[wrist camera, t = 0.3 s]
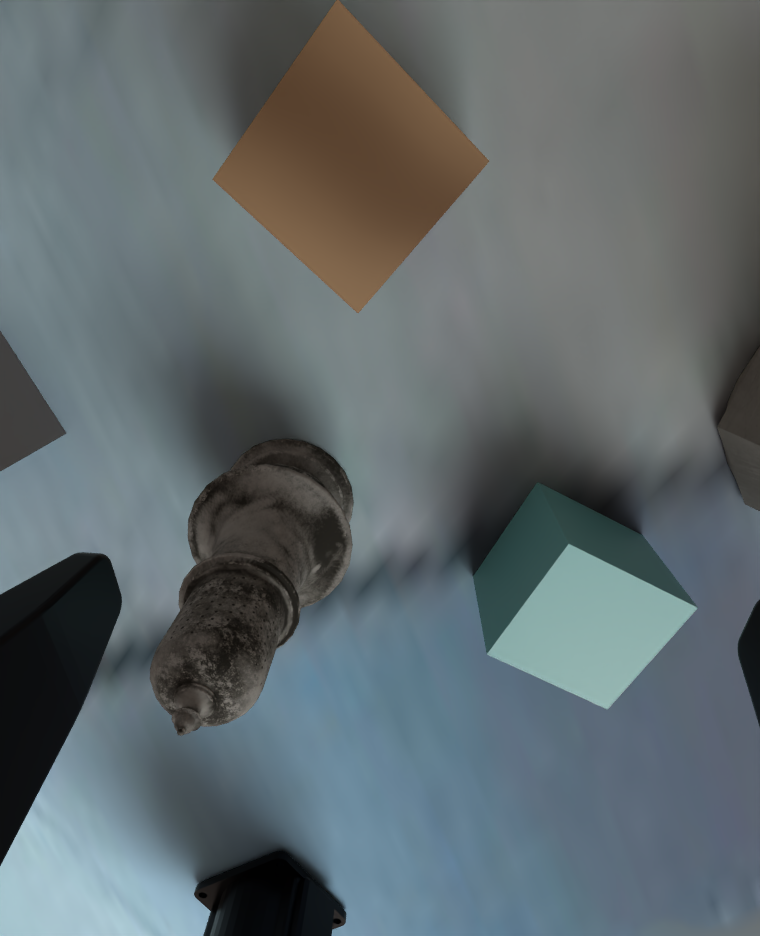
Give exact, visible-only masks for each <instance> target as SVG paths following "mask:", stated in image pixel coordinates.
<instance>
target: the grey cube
mask: <svg viewBox="0 0 760 936" xmlns="http://www.w3.org/2000/svg"><path fill="white" fill-rule="evenodd" d="M65 434H66V432H65V430H64V429H63V427H62V426H61V424H60V423H59V421H58V419H57V418H56V416H55V415H54V413H53V412H52V410H51V409H50V407H49V406H48V404H47V402H46V401H45V399H44V398H43V396H42V395H41V393H40V392H39V390H38V389H37V387H36V385H35V384H34V382H33V381H32V379H31V378H30V376H29V375H28V373H27V372H26V370H25V368H24V367H23V365H22V364H21V362H20V361H19V359H18V358H17V356H16V354H15V353H14V351H13V350H12V348H11V347H10V345H9V344H8V342H7V341H6V339H5V337H4V336H3V334H2V333H1V331H0V471H2V470H4V469H5V468H7V467H9V466H11V465H12V464H14V463H16V462H18V461H19V460H21V459H23V458H24V457H26V456H28V455H30V454H31V453H33V452H35V451H37V450H38V449H40V448H42V447H44V446H45V445H47V444H49V443H51V442H52V441H54V440H56V439H58V438H59V437H61V436H63V435H65Z"/></svg>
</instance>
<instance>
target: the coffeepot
mask: <svg viewBox="0 0 760 936" xmlns="http://www.w3.org/2000/svg"><path fill="white" fill-rule="evenodd" d="M717 428H718V431H719V434H720V436H721V439H722V442H723V446H724V450H725V455H726V459H727V463H728V465H729V467H730V469H731V471H732V473H733V475H734V477H735V479H736V481H737V484H738V486H739V489H740V492H741V495H742V497H743V500H744V503H745V504H746V505H748V506H750V507H752V508H754V509H756V510H758V511H760V347H759V348H758V350H757V351H756V352H755V354H754V355H753V357H752V358H751V360H750V362H749V363H748V365H747V366H746V368H745V369H744V371H743V372H742V374H741V375H740V377H739V378H738V380H737V382H736V384H735V387H734V389H733V391H732V394H731V396H730V398H729V401H728V404H727V409H726V412H725V413H724V415H723V417H722V419H721V421H720V423H719V424H718V426H717Z"/></svg>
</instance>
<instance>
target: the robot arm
mask: <svg viewBox="0 0 760 936" xmlns="http://www.w3.org/2000/svg"><path fill="white" fill-rule="evenodd" d="M121 605H122V597H121V592H120V589H119V586H118V583H117V579H116V576H115V573H114V570H113V567H112V563H111V561H110V559H109V558H108V557H107V556H106V555H104V554H99V553H84V552H82V553H76V554H73V555H71V556H70V557H68V558H66V559H64V560H62V561H60V562H59V563H57V564H55V565H53V566H51V567H50V568H48V569H46V570H44V571H42V572H41V573H39V574H37V575H35V576H33V577H31V578H30V579H28V580H26V581H24V582H22V583H21V584H19V585H17V586H15V587H13V588H12V589H10V590H8V591H6V592H4V593H2V594H1V595H0V866H1V864H2V862H3V860H4V858H5V856H6V854H7V852H8V850H9V848H10V846H11V844H12V842H13V841H14V839H15V837H16V835H17V833H18V831H19V829H20V827H21V825H22V823H23V821H24V819H25V817H26V815H27V814H28V812H29V810H30V808H31V806H32V804H33V802H34V800H35V798H36V796H37V794H38V792H39V790H40V788H41V786H42V785H43V783H44V781H45V779H46V777H47V775H48V773H49V771H50V769H51V767H52V765H53V763H54V761H55V759H56V758H57V756H58V754H59V752H60V750H61V748H62V746H63V744H64V742H65V740H66V738H67V736H68V734H69V732H70V730H71V729H72V727H73V725H74V723H75V721H76V719H77V716H78V714H79V712H80V710H81V708H82V706H83V704H84V701H85V699H86V697H87V694H88V692H89V689H90V687H91V684H92V682H93V679H94V677H95V674H96V672H97V669H98V667H99V664H100V662H101V659H102V656H103V654H104V651H105V649H106V646H107V644H108V641H109V639H110V636H111V634H112V631H113V629H114V626H115V624H116V621H117V618H118V616H119V613H120V610H121ZM738 656H739V660H740V664H741V667H742V670H743V673H744V677H745V680H746V683H747V687H748V690H749V693H750V696H751V700H752V703H753V706H754V710H755V713H756V716H757V720H758V723H759V726H760V600H759V601H758V602H757V603H756V604H755V606H754V608H753V610H752V612H751V615H750V617H749V619H748V621H747V623H746V625H745V627H744V629H743V632H742V634H741V636H740V638H739V642H738ZM194 896H195V897H196V898H197V899H198V900H199V901H200V902H201V903H202V904H203V905H205V906H206V907H207V908H208V909H209V910H210V911H211V912H210V916H209V919H208V922H207V926H206V929H205V932H204V936H331V935H332V929H335V928H338V927H341V926H343V925H344V924H345V923H346V912H345V911H344V910H343V909H342V908H341V907H340V906H339V905H338V904H337V902H336V901H335V900H334V899H333V898H332V897H331V896H330V895H329V894H328V893H327V892H326V891H325V890H324V889H323V888H322V887H321V886H320V885H319V884H318V883H317V882H316V881H315V880H314V879H313V878H312V877H311V876H310V875H309V874H308V873H307V872H306V871H305V870H304V869H303V868H302V867H301V866H300V865H299V864H298V863H297V862H296V861H295V860H294V859H293V858H292V857H291V856H290V855H289V854H287V853H286V852H283V851H277V852H274V853H272V854H269V855H267V856H264V857H262V858H259V859H257V860H255V861H252V862H250V863H247V864H245V865H242V866H240V867H237V868H235V869H233V870H230V871H228V872H225V873H223V874H220V875H218V876H215V877H213V878H210V879H208V880H206V881H203V882H201V883H199V884H197V887H196V890H195V893H194Z"/></svg>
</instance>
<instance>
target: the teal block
mask: <svg viewBox="0 0 760 936" xmlns="http://www.w3.org/2000/svg"><path fill="white" fill-rule="evenodd" d="M473 579H474V585H475V590H476V596H477V601H478V607H479V613H480V618H481V624H482V630H483V635H484V641H485V646H486V652H487V655H490V656H492V657H494V658H496V659H498V660H500V661H503V662H505V663H507V664H509V665H511V666H514V667H516V668H518V669H520V670H522V671H525V672H527V673H529V674H531V675H533V676H535V677H538V678H540V679H542V680H544V681H546V682H549V683H551V684H553V685H555V686H557V687H560V688H562V689H564V690H566V691H568V692H570V693H573V694H575V695H577V696H579V697H581V698H584V699H586V700H588V701H590V702H592V703H594V704H597V705H599V706H601V707H603V708H605V709H608V708H609V707H610V706H611V705H612V704H613V703H614V702H615V700H616V699H617V698H618V697H619V696H620V695H621V694H622V693H623V691H624V690H625V689H626V688H627V687H628V686H629V685H630V684H631V682H632V681H633V680H634V679H635V678H636V677H637V676H638V675H639V673H640V672H641V671H642V670H643V669H644V668H645V667H646V666H647V664H648V663H649V662H650V661H651V660H652V659H653V658H654V657H655V655H656V654H657V653H658V652H659V651H660V650H661V649H662V648H663V647H664V645H665V644H666V643H667V642H668V641H669V640H670V639H671V638H672V636H673V635H674V634H675V633H676V632H677V631H678V630H679V629H680V627H681V626H682V625H683V624H684V623H685V622H686V621H687V620H688V618H689V617H690V616H691V615H692V614H693V613H694V612H695V611H696V609H697V608H698V607H697V606H696V605H695V603H694V602H693V601H692V599H691V598H690V597H689V595H688V594H687V593H686V592H685V590H684V589H683V588H682V586H681V585H680V584H679V582H678V581H677V580H676V578H675V577H674V576H673V575H672V573H671V572H670V571H669V569H668V568H667V567H666V565H665V564H664V563H663V561H662V560H661V559H660V558H659V556H658V555H657V554H656V552H655V551H654V550H653V548H652V547H651V546H650V544H649V543H648V542H647V541H646V539H645V538H644V537H643V535H641V534H639V533H637V532H635V531H633V530H631V529H629V528H627V527H625V526H623V525H621V524H619V523H617V522H615V521H613V520H611V519H609V518H607V517H606V516H604V515H602V514H600V513H598V512H596V511H594V510H592V509H590V508H588V507H586V506H584V505H582V504H580V503H578V502H576V501H574V500H572V499H570V498H568V497H566V496H564V495H562V494H560V493H558V492H556V491H554V490H552V489H551V488H549V487H547V486H545V485H543V484H541V483H539V482H537V483H536V485H535V486H534V488H533V489H532V491H531V492H530V494H529V495H528V497H527V498H526V499H525V501H524V502H523V504H522V505H521V507H520V508H519V510H518V511H517V513H516V514H515V516H514V517H513V519H512V520H511V521H510V523H509V524H508V526H507V527H506V529H505V530H504V532H503V533H502V535H501V536H500V538H499V539H498V541H497V542H496V543H495V545H494V546H493V548H492V549H491V551H490V552H489V554H488V555H487V557H486V558H485V560H484V561H483V563H482V564H481V565H480V567H479V568H478V570H477V571H476V573H475V574H474V576H473Z"/></svg>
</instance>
